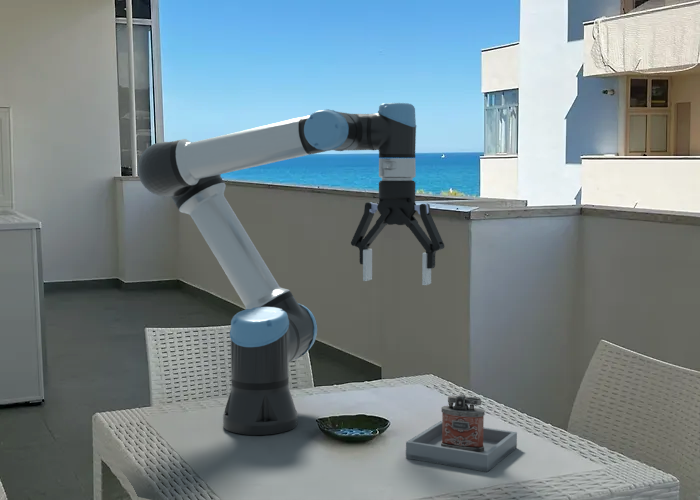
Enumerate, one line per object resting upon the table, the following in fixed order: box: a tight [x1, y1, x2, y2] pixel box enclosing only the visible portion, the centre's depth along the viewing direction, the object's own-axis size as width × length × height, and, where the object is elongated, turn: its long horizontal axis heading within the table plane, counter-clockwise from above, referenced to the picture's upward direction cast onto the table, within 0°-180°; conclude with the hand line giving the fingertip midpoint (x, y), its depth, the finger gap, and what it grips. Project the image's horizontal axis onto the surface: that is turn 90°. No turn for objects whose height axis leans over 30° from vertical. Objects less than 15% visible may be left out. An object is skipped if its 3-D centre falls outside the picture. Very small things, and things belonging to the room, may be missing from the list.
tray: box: [405, 420, 518, 473], centre depth 172 cm, size 16×16×3 cm
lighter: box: [441, 393, 485, 452], centre depth 171 cm, size 8×3×10 cm, turn 68°
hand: (396, 282), depth 192 cm, fingers open, 13 cm apart
